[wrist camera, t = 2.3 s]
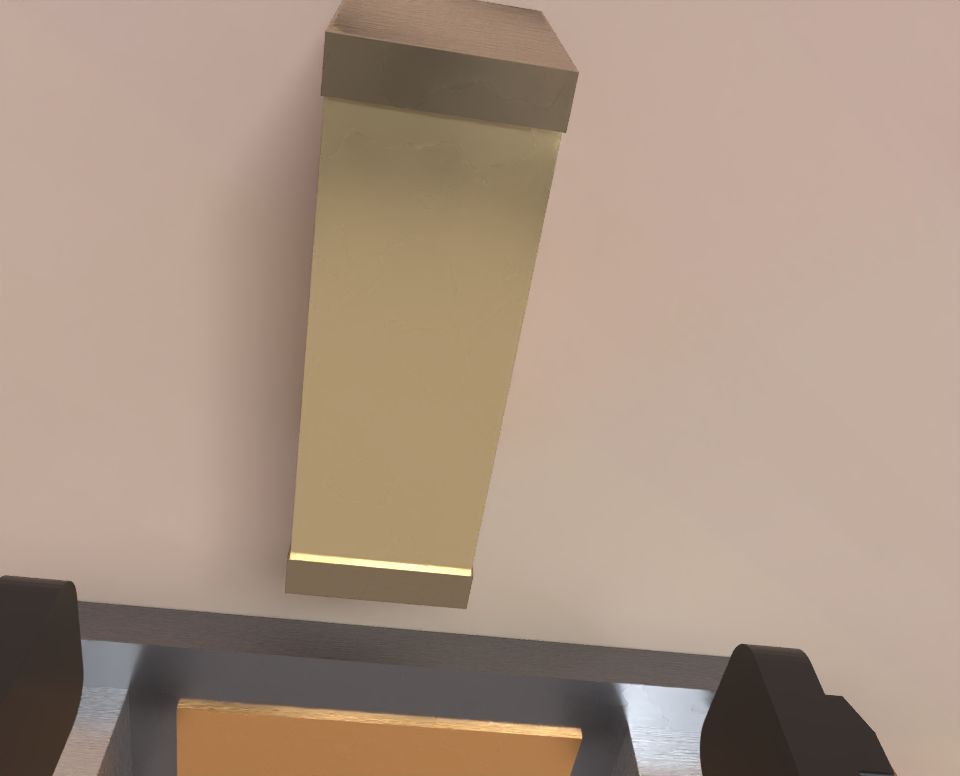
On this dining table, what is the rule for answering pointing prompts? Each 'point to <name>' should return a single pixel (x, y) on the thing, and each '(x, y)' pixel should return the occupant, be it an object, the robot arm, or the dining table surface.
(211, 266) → the dining table surface
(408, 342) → the block
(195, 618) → the stand
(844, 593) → the dining table surface
